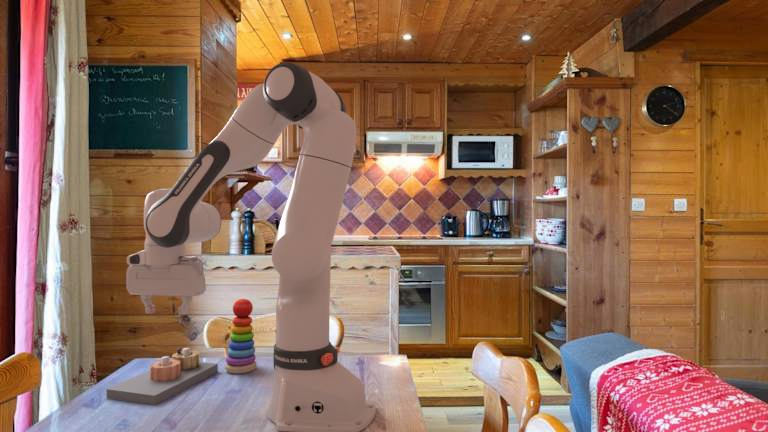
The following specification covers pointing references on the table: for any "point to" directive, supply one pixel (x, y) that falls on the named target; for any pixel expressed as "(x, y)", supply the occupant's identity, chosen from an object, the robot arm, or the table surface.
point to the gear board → (160, 383)
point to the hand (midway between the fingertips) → (166, 313)
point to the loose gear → (165, 370)
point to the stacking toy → (241, 340)
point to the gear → (187, 359)
